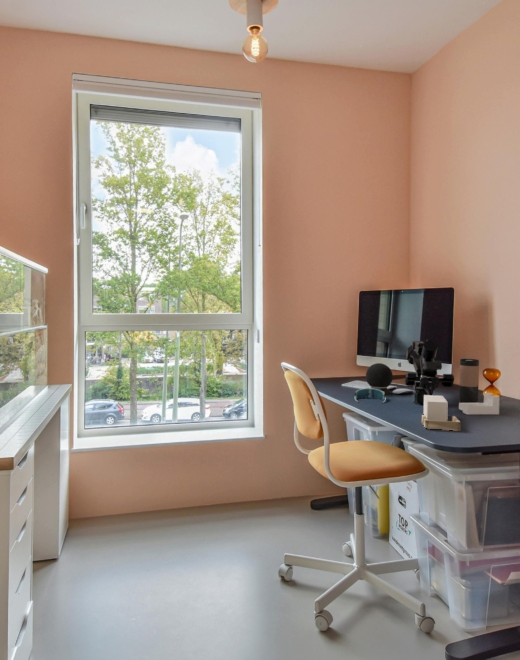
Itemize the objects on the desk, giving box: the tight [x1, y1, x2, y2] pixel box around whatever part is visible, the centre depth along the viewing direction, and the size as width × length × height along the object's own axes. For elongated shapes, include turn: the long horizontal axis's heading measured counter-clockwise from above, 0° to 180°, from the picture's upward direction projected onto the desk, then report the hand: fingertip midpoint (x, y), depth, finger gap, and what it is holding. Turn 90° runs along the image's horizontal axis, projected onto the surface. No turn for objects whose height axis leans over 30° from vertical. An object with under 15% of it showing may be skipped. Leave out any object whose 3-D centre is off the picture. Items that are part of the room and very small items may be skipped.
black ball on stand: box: [365, 362, 394, 395], centre depth 236 cm, size 13×13×15 cm
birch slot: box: [421, 414, 462, 432], centre depth 167 cm, size 10×12×3 cm
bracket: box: [458, 392, 500, 415], centre depth 191 cm, size 13×7×8 cm, turn 91°
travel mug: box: [458, 358, 480, 403], centre depth 206 cm, size 8×8×20 cm
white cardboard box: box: [422, 394, 449, 421], centre depth 179 cm, size 14×7×8 cm, turn 166°
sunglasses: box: [354, 387, 387, 404], centre depth 216 cm, size 14×15×5 cm
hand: (431, 396), depth 189 cm, fingers closed
